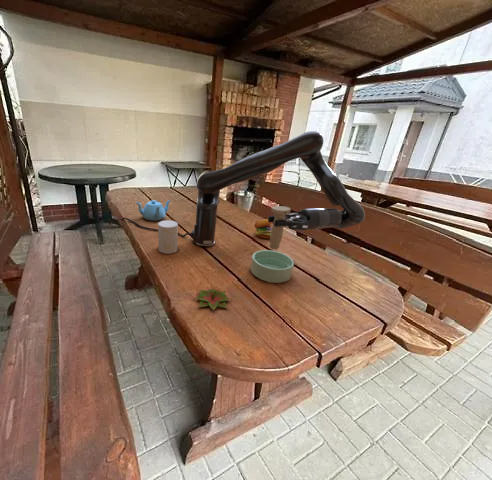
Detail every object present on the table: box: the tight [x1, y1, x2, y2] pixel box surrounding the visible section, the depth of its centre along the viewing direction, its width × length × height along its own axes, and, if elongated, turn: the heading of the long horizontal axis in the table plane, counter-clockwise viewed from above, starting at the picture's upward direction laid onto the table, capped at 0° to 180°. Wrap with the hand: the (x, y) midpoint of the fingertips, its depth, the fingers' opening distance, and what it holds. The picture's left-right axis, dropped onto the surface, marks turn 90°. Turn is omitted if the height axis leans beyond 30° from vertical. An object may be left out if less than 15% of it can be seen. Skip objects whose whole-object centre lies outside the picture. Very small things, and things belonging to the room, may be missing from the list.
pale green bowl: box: [250, 249, 295, 284], centre depth 101 cm, size 16×16×6 cm
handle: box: [269, 205, 292, 251], centre depth 91 cm, size 5×6×15 cm
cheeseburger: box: [254, 218, 273, 239], centre depth 136 cm, size 10×11×10 cm
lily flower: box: [195, 286, 231, 312], centre depth 83 cm, size 12×12×5 cm
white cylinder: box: [157, 220, 179, 255], centre depth 112 cm, size 8×8×12 cm
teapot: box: [135, 199, 172, 222], centre depth 148 cm, size 15×15×10 cm
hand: (271, 221), depth 89 cm, fingers closed on handle, 3 cm apart
